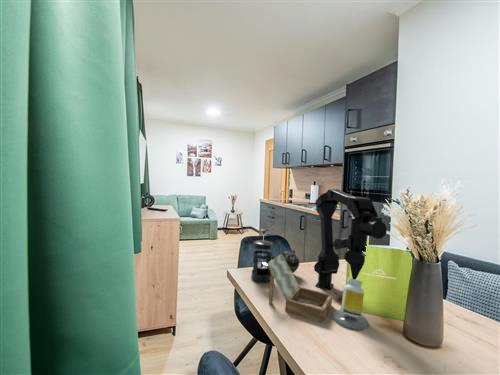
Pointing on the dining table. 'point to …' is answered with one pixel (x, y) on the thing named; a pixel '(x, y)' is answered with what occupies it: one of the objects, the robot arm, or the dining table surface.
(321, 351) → the dining table surface
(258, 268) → the french press
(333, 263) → the robot arm
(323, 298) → the cold frame
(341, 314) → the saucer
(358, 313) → the pill bottle
